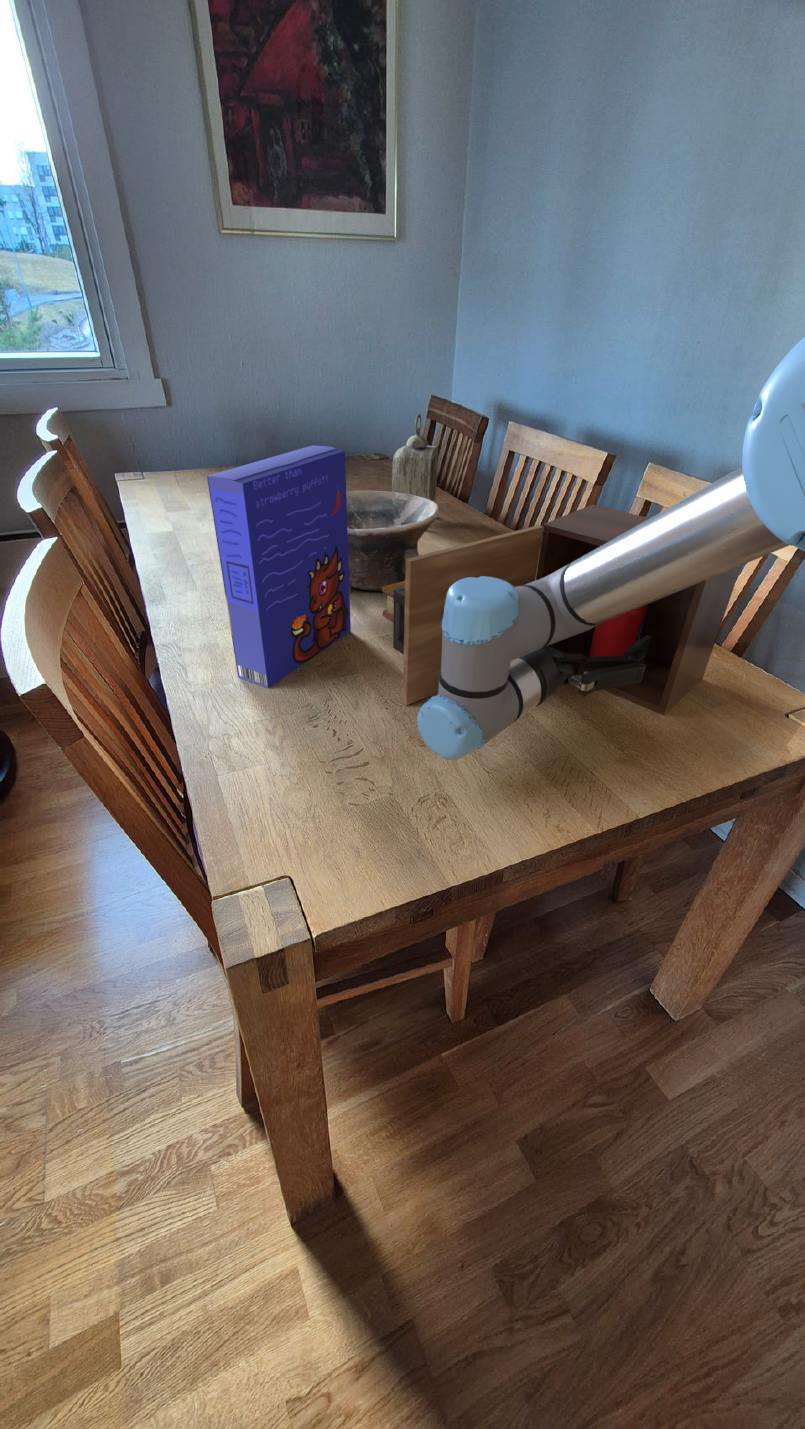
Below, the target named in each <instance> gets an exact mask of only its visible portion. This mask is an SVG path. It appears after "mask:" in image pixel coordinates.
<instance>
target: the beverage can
mask: <svg viewBox="0 0 805 1429" xmlns="http://www.w3.org/2000/svg"><path fill="white" fill-rule="evenodd" d="M646 611H647V605H644V606H642V607H640V608H637V609H635V610H632V611H630V612H627V613H625V614H623V615H620V616H618V617H615V618H613V619H611V620H608V621H606V622H603V623H601V624H599V625H597V626H595V629H594V634H593V639H592V644H591V648H590V653H589V657H590V656H617V655H623V654H624V651H625V650H626V649H628V648H629V647H631V646H632V645H633V644H635V643H636V642H638V641H639V638H640V634H641V631H642V627H643V623H644V619H645V615H646Z"/></svg>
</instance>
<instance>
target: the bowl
mask: <svg viewBox="0 0 805 1429" xmlns="http://www.w3.org/2000/svg"><path fill="white" fill-rule="evenodd" d="M346 498H347V529H348V560H349V588H354V589H356V590H364V591H371V592H372V591H373V592H374V591H375V592H377V591H378V592H382V587H384V586H388V585H391V584H395V583H399V582H403V581H405V579H406V559H408V558H412V557H416V556H420V554H419V549H418V544H419V540H420V539H421V538H422V537H423V535H424V534H425V532H427V530H428V529H429V528H430V527H431V526H432V525H433V524H434V523H435V521H436V520H437V519H438V518H439V515H440V513H441V507H440V505H439V504H438V503H434V502H433V501H431V500H429V499H426V498H422V497H419V496H415V495H411V494H404V493H397V492H392V491H388V490H387V491H386V490H385V491H383V490H350V491H346Z"/></svg>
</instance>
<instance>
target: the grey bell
mask: <svg viewBox="0 0 805 1429" xmlns="http://www.w3.org/2000/svg"><path fill="white" fill-rule="evenodd" d="M421 429H422V415H421V413H417V414H416V416H415V421H414V434H415V435H411V436H410V437H409V438H408V439H407V442H406V444H405V445H404V446H401V447H400V448H398V449H397V450H396V451H395V453H394V455H393V457H392V467H391V468H392V470H391V471H392V472H391V492H397V493H404V494H411V495H415V496H419V497H422V498H426V499H429V500H431V501H433V502H434V503H435V502H436V496H437V482H438V464H439V463H438V460H439V447H438V446H437V445H429V443H428V440H427V439H426V438H425V436H424V435H421Z"/></svg>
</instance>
